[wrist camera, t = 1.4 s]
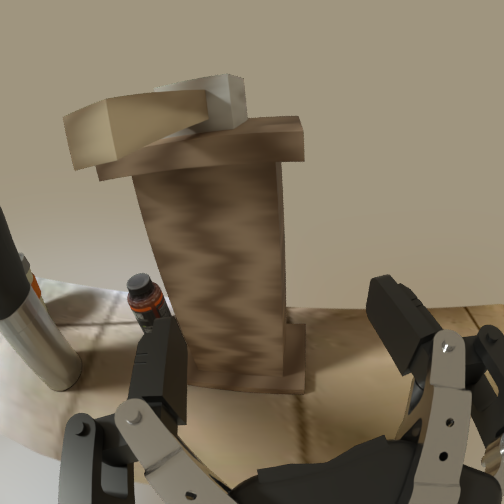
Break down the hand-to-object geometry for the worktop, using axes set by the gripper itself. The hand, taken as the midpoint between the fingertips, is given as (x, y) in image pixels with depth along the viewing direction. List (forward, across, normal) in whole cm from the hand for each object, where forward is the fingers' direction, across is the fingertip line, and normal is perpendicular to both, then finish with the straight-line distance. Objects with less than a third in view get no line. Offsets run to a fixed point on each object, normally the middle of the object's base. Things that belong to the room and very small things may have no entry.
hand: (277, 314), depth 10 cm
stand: (+18, +3, +26) cm, 32 cm away
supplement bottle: (+26, +18, +25) cm, 40 cm away
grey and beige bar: (+11, +3, -6) cm, 13 cm away
